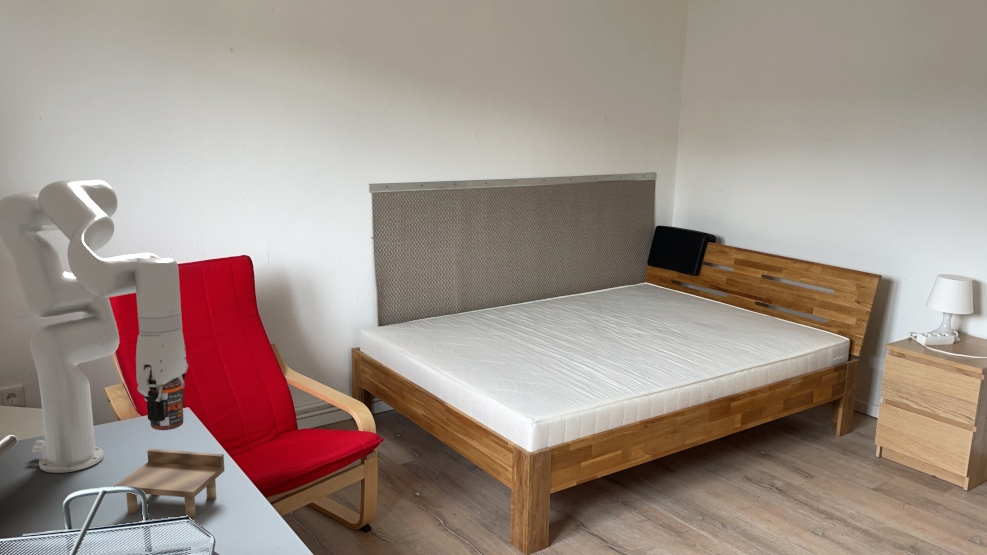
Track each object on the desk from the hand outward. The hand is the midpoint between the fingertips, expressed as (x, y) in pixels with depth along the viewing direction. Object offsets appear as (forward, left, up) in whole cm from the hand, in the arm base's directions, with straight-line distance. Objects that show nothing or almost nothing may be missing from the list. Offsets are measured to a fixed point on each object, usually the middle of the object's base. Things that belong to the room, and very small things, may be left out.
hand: (166, 413), depth 149 cm
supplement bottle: (0, 0, -3) cm, 3 cm away
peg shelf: (0, 0, -19) cm, 19 cm away
